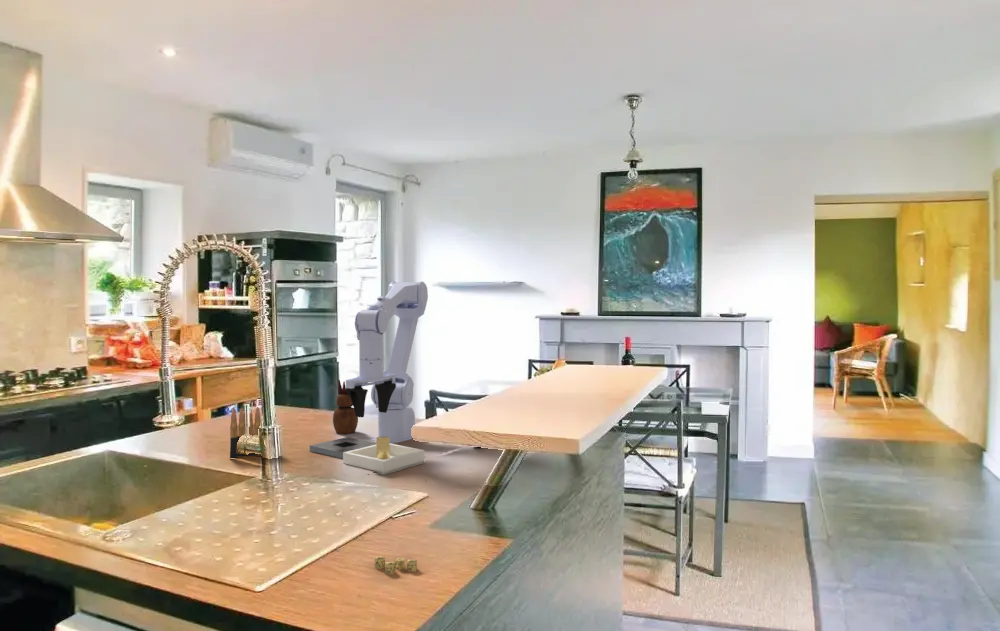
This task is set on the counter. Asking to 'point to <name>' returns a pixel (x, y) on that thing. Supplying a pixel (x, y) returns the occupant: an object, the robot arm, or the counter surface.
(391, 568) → the dice set
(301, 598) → the counter surface
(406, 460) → the tray
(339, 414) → the wooden figurine
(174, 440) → the counter surface
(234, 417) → the ammunition clip
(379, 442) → the gold upright block
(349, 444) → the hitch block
